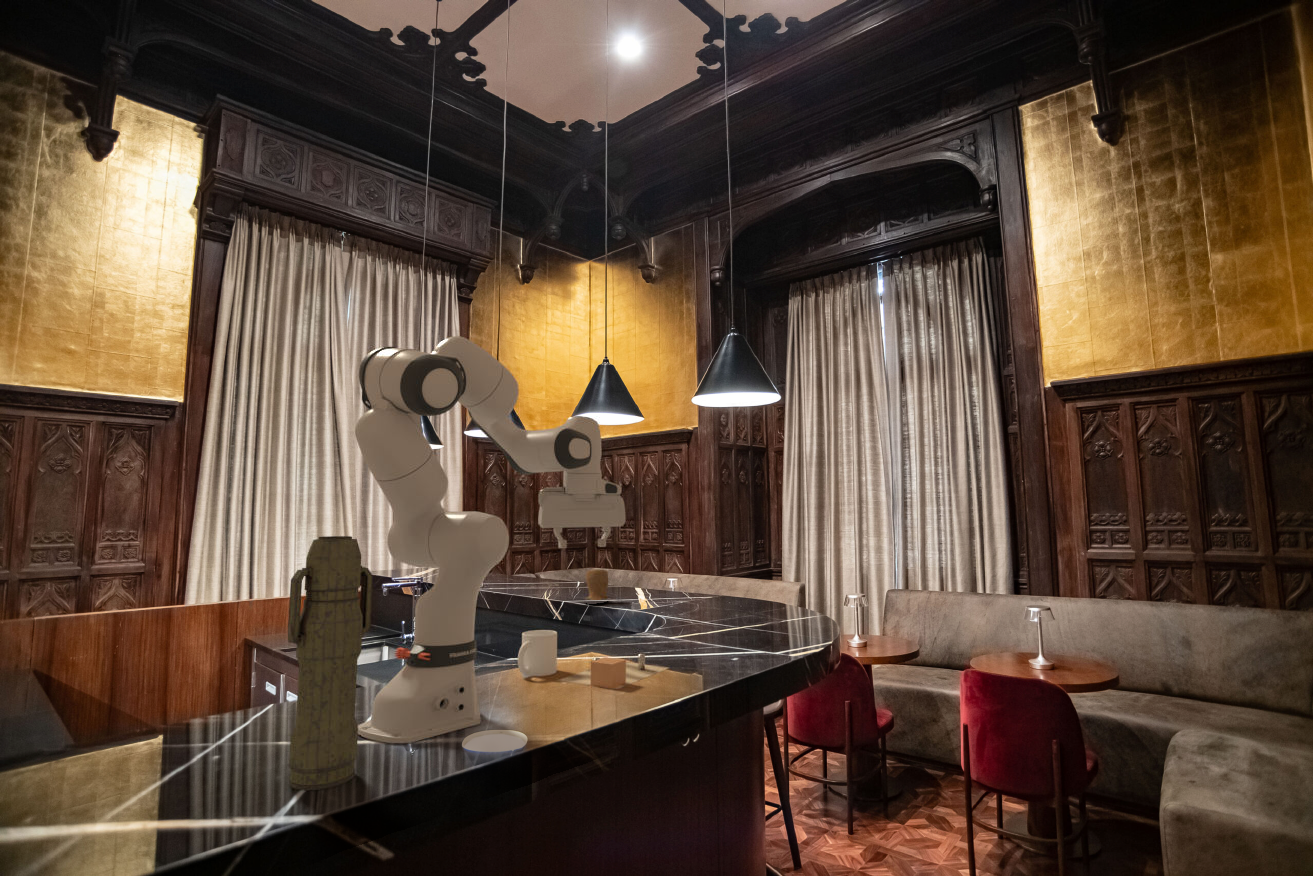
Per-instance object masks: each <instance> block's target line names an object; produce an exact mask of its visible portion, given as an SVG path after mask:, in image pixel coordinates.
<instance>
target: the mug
mask: <svg viewBox="0 0 1313 876" xmlns="http://www.w3.org/2000/svg"><path fill="white" fill-rule="evenodd" d="M557 656H558V632H557V631H555V630H552V629H550V630H549V629H547V630H546V629H537V630H527V631H524V632H522V633H521V646H520V647H519V650H518V655H517V666H518V670H519V672H520V673H521V677H522V679H526V678H530V677H541V676H542V677H544V676H551V675H554V674H556V673H557V672H558V671H557V670H558V669H557V666H558V665H557V663H558V662H557V661H558V660H557V658H558V657H557Z"/></svg>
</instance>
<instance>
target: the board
mask: <svg viewBox="0 0 1313 876" xmlns="http://www.w3.org/2000/svg"><path fill="white" fill-rule="evenodd" d="M665 670H670V667H666V666H657V665H651V664H650V665H649V664H645V670H638V663H634V662H627V661H626V683H624V684H622V685H619V686H617V687H614V688H608V689H611V690H615V691H616V690H619V689H621V688H623V687H626V686H628V685H631V684H634V683H636V682H638V681H640V680H643V679H646V678H649V677H651V676H653V675H656V674H658V673H661V672H663V671H665ZM556 682H562V683H569V684H575V685H576V684H577V685H583V686H589V687H593V686H592V685H591V668H590V669H587V670H583V671H581V672H578V673H575V674H572V675H570V676H566V677H562V678H561V679H558V680H556ZM594 687H597V688H600V687H599V686H594ZM601 688H603V689H606V688H605V687H601Z"/></svg>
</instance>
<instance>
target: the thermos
mask: <svg viewBox="0 0 1313 876" xmlns="http://www.w3.org/2000/svg"><path fill="white" fill-rule="evenodd" d="M311 542H312V543H311V545H310V547H309V550H308V553H307V555H306V558H305V560H306V562H305V567H302V568H301V569H297V570H296V572H295V573H294V574H293V576H292V577H291V579H290V590H289V603H288V605H289V606H288V622H287V638H288V639H287V641H288V643H290V644H294V645H296V654H295V656H296V660H297V662H298V679H297V681H298V682H297V693H296V694H297V696H296V697H297V699H296V714H295V725H294V728H293V730H292V733H291V736H290V745H289V763H288V767H289V768H290V774H289V775H290V777H289V782H288V783H289V786H290V787H291V788H292V789H294V790H300V791H319V790H326V789H330V788H335V787H338V786H340V785H342V784H345V783H347V782H349V781H351V780H353V778H354V777H355V776H356V775H355V773H356V768H355V763H356V758H357V757H358V736H359V734H358V725H359V724H358V723H357V719H356V717H355V716H356V697H357V676H358V659H359V657H360V656H361V654H362V641H363V637H364V636H365V634H366V633H367V632H368V631H369V630H370V629H371V616H372V614H371V613H372V597H373V596H372V595H373V594H372V593H373V576H374V575H373V574H372V573H371V571H370V569H369V568H368V567H365V566H362V553H361V548H360V546H359V545H360V544H359V543H358V539H357V538H353V536H350V535H349V536H348V535H345V536H344V535H342V536H341V535H340V536H338V535H334V536H325V535H324V536H318V539H313V540H312V541H311ZM304 577H305V578H304ZM303 579H304V591H305V599H303V608H302V610H301V605H302V604H301V603H302V588H303ZM359 589H360V595H359Z"/></svg>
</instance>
